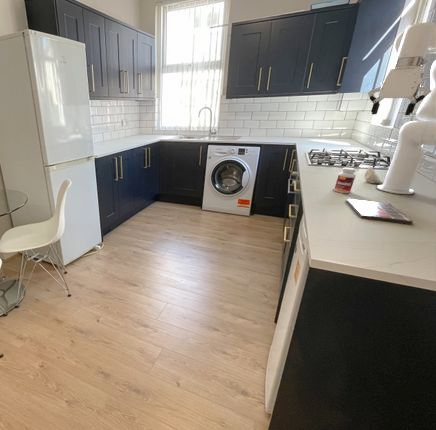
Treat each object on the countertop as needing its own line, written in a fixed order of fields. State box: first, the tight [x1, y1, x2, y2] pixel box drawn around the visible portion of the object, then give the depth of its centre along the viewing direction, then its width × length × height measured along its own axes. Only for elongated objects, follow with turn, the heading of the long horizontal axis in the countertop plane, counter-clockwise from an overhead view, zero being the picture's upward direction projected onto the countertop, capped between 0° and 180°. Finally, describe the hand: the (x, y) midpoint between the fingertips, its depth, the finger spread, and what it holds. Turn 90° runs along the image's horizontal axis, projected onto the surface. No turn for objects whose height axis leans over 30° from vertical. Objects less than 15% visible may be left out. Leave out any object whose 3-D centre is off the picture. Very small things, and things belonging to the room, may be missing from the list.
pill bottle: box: [333, 167, 357, 194], centre depth 130 cm, size 6×6×11 cm
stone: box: [363, 166, 384, 185], centre depth 145 cm, size 10×7×10 cm
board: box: [346, 198, 414, 225], centre depth 107 cm, size 20×14×1 cm
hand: (390, 114), depth 107 cm, fingers open, 9 cm apart
